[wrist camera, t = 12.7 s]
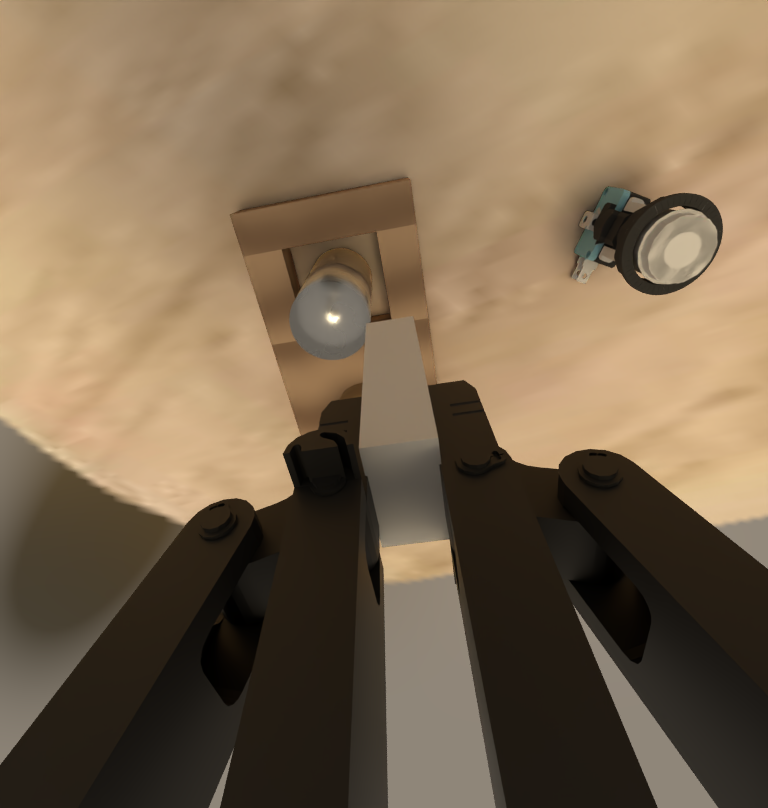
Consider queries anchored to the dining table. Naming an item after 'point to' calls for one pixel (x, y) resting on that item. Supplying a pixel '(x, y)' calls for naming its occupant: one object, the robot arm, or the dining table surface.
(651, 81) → the dining table surface
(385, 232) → the jig
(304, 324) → the tan grey cylinder
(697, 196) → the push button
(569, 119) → the dining table surface
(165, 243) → the dining table surface
